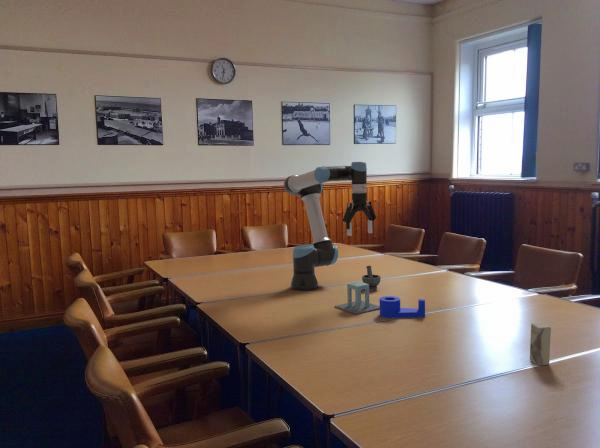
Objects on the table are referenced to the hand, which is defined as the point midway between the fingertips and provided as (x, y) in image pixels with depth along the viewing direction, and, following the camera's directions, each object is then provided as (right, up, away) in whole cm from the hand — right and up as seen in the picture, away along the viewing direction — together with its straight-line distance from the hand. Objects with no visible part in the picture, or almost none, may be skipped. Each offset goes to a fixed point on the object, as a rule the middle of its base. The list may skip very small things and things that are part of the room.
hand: (359, 234), depth 263 cm
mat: (-3, -34, -19) cm, 39 cm away
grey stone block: (+49, -41, -91) cm, 111 cm away
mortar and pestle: (+8, -30, +18) cm, 36 cm away
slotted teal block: (-3, -34, -19) cm, 39 cm away
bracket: (+15, -36, -33) cm, 51 cm away
